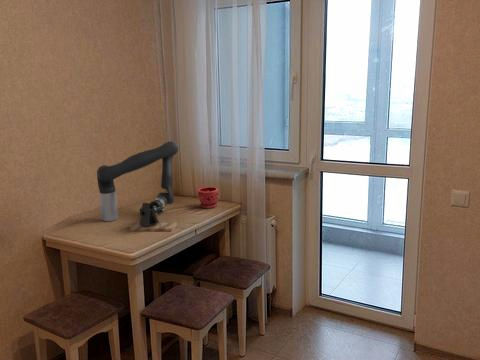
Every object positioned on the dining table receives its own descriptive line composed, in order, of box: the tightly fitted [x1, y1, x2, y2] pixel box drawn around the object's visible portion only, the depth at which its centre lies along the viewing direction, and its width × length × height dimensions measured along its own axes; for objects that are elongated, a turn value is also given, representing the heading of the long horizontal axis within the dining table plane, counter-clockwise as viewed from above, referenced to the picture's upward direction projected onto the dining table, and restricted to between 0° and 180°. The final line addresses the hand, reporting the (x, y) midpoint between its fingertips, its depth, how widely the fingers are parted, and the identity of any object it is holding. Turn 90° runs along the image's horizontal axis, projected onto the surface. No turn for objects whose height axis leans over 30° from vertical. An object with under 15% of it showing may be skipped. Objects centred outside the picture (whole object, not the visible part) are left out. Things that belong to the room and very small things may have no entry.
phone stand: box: [139, 202, 160, 227], centre depth 236 cm, size 9×6×12 cm, turn 140°
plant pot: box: [197, 186, 219, 209], centre depth 276 cm, size 13×13×12 cm
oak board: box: [129, 221, 177, 232], centre depth 237 cm, size 24×10×2 cm, turn 82°
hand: (146, 214), depth 234 cm, fingers closed on phone stand, 6 cm apart
